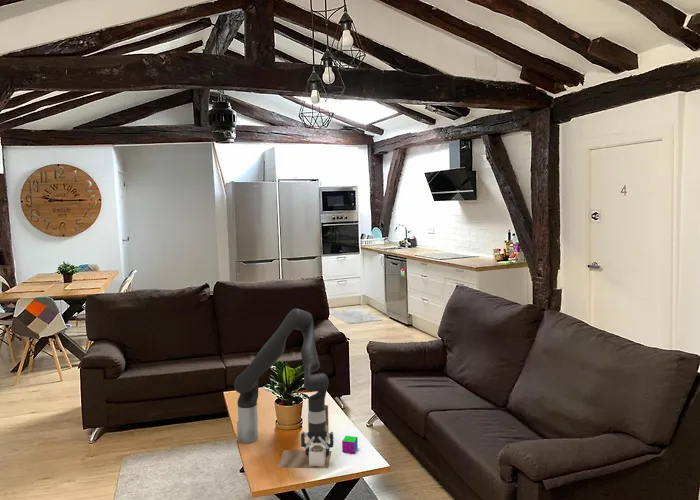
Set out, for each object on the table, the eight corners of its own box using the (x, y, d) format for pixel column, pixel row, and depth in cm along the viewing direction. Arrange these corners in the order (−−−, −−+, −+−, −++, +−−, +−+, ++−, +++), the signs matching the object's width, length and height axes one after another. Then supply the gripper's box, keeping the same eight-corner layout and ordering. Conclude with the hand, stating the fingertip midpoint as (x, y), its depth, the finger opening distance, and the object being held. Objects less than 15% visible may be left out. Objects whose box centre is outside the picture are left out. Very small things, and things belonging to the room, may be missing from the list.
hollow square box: (309, 465, 236) (308, 452, 235) (311, 458, 242) (311, 445, 242) (324, 466, 235) (323, 452, 235) (325, 459, 242) (325, 445, 241)
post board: (276, 470, 235) (276, 451, 234) (283, 453, 251) (283, 435, 250) (328, 471, 233) (327, 452, 233) (331, 454, 249) (331, 436, 249)
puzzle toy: (357, 448, 255) (357, 436, 254) (354, 454, 249) (354, 442, 249) (345, 447, 256) (345, 435, 256) (342, 452, 251) (342, 440, 250)
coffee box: (316, 436, 269) (315, 404, 267) (329, 436, 268) (328, 404, 266) (311, 444, 260) (310, 411, 258) (324, 445, 259) (323, 412, 257)
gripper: (299, 422, 234) (299, 459, 235) (332, 423, 233) (333, 460, 234) (301, 415, 241) (302, 451, 243) (334, 416, 240) (334, 452, 242)
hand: (317, 455), depth 238 cm, fingers open, 7 cm apart
